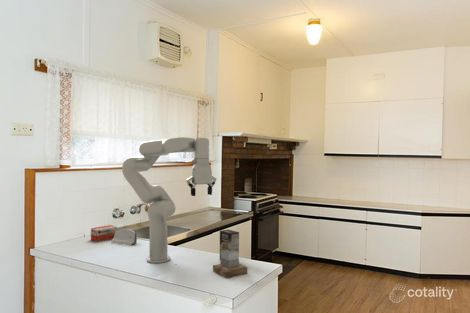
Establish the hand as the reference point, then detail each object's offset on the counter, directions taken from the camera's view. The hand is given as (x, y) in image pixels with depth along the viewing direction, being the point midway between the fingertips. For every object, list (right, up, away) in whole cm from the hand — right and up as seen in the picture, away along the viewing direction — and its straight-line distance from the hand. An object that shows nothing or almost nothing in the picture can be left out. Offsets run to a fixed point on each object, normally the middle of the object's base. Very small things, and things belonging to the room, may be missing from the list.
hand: (201, 195), depth 181 cm
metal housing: (+15, -33, -10) cm, 37 cm away
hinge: (-54, -36, +47) cm, 80 cm away
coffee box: (+14, -37, +8) cm, 40 cm away
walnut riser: (+15, -36, -10) cm, 41 cm away
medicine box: (-71, -36, +57) cm, 98 cm away
